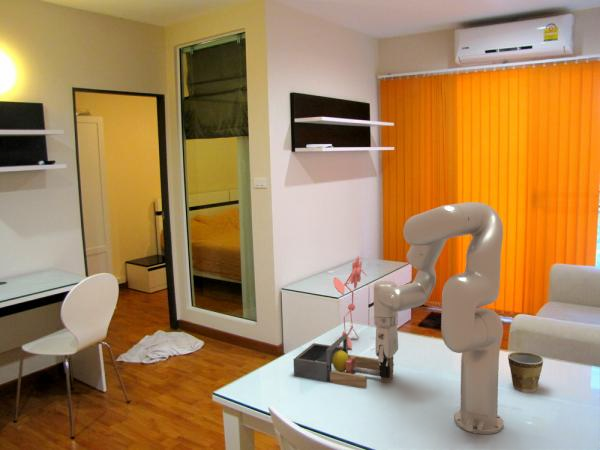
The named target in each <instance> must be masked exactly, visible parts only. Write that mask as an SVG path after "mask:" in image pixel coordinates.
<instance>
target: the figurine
mask: <svg viewBox="0 0 600 450" xmlns="http://www.w3.org/2000/svg"><path fill="white" fill-rule="evenodd" d="M362 264H363V262H362V260H360V256H359V255H357V256H356V258H355V260H353V262H352V264H351V265H352V266H351V267H352V270H351V273H350V275H349V276H348V277H347V279H346V281H345V283H343V282H342V281H341V279H340V278H337V277H336V276H335V277H333V285H334V288H335V289H336V290H337V291H338V293H340V294H341V295H345V287H346V288H347V289H348V290H349V291H350V292H351V303H350V304H348V307H347V308H348V310H349V311H348V312H346V314H345V315H344V316H343V327H344V331H343V332H342V335H343V334H347V337H348V348H349V349H350V350H352V348H353V347H352V345H353V344H352V340H351V339H350V336H349V335H350V333H351V331H352V332H354V334H355V335H356V337H357V339H360V337H359V336H358V334H357V333H356V331H355V330H354V325H353V319H352V318H353V317H352V311H354V310H355V309H356V305H355V304H354V292H353V290H352V289H351V288H350V287H349V286H348V284H351V285H353V288H354V289H355V290H356V288H357V287H358V283H360V282H361V280H362V276H361V274H362V273H363V274H364V276H366V277H367V276H368V275H367V274H366V273H365V271H363V269H362ZM349 314H350V322H351V323H350V324H351V325H350V329H349V330H348V332H346V320H345V317H347V315H349ZM342 335H341V336H342ZM372 339H374V340H375V338H373V337H372ZM341 344H342V342H341V343H340V344H339V345H338V346H337V347H341V346H340V345H341ZM372 350H374V348H373V349H371V351H372Z"/></svg>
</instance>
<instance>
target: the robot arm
mask: <svg viewBox="0 0 600 450" xmlns="http://www.w3.org/2000/svg"><path fill="white" fill-rule="evenodd" d="M402 233H403V238H404V240H405V241H406V243H408V244H409V245H410V247H409V249H408V251H407V254H406V261H407V262H408V263H409V264H410V266H412V267H413V268H414V269H416V270H417V273H416V275H415V277H414V280H413V281H412V282H410V283H406V284H400V285H397V283H395V282H394V281H391V280H380V281H377V282H375V283H374V284H373V324H374V326H375V327H376V328H375V347H376V348H375V355H376V357H378V358H377V359H378V362H379V368H380V376H379V377H380V378H381V377H384V378H389V377H390V366H388V364H389V358H391V357H392V356H393V357H394V356H395V354H396V353H397V352H398V350H399V333H398V332H399V331H398V325H399V323H398V322H399V321H398V320H399V319H398V318H399V317H398V315H399V312H403V311H406V310H410V309H413V308H417V307H421V306H422V305H424V304H425V303H426V302H427V301H428V300H429V298H430V297H431V295H432V293H433V291H434V289H435V287H436V284H437V282H436V281H437V275H436V273H437V272H436V268H435V267H436V263H437V262H438V259H439V257H440V255H441V253H442V251H443V249H444V246H445V245H446V242H447V241H448V240H449V239H451V238H457V237H463V236H468V235H471V236H472V238H471V240H470V242H469V245H468V247H467V249H466V254H465V255H466V256H465V260H466V261H465V269H464V271H463V272H460V273H457V274H454V275H452V276H451V277H449V278H448V279H447V281H446V282H445V283H444V285H443V288H442V294H441V318H440V321H441V323H440V324H441V325H440V331H441V332H440V333H441V338H442V340H443V342H444V344H445V346H446V347H447V349H448V350H450V351H451V352H453V353H458V354H461V360H460V405H459V406H460V409H459V410H457V411H456V412H455V413H454V416H453V417H454V418H453V421H454V423H455V424H456V425H457V426H458V427H459V428H460V429H463V430H464V431H467V432H470V433H474V434H478V435H491V434H496V433H499V432H500V431H501V430H503V428H504V420H503V418H502V417H501V416H500V415H499V414H498V408H499V407H498V403H499V400H498V399H499V398H498V397H499V370H500V369H499V365H500V351H501V346H502V345H501V344H502V340H503V334H504V325H503V321H502V319H501V317H500V315H499V314H498V313H497V312H496V311H494V310H492V309H490V308H485V306H489V305H491V304H493V303H494V302H496V301H497V300H498V298H499V295H500V285H501V283H500V282H501V268H502V267H501V265H502V264H501V261H502V259H501V257H502V246H503V239H504V226H503V222H502V219H501V216H500V215H499V214H498V212H497V211H496V209H494V208H493V207H491V206H489V205H488V204H487V203H482V202H477V201H473V202H472V201H469V202H462V203H461V202H460V203H452V204H451V203H450V204H445V205H441V206H438V207H436V208H433V209H429V210H426V211H423V212H421V213H418V214H415V215H413V216H410V217H409V218H408V219H407V220H406V221H405V223H404V227H403V231H402ZM384 355H385V356H384ZM383 358H385V359H386V361H385V360H384V359H383Z"/></svg>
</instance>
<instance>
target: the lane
mask: <svg viewBox="0 0 600 450" xmlns="http://www.w3.org/2000/svg"><path fill="white" fill-rule="evenodd" d="M351 356H355V357H356V368H362V369H369V370H375V371H380V368H379V362H378V358H374V357H369V356H368V357H367V356H360V355H355V354H348V358H350V357H351ZM367 378H368V377H367V376H366V375H361V374H357V373H354V374H350V373H346V372H345V371H343V372H339V371H337V370H332V371H331V372H330V382H329V383H332V384H336V385H343V386H349V387H353V388H354V387H355V388H360V389H367V388H368V385H367V384H368V379H367Z"/></svg>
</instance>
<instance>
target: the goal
mask: <svg viewBox="0 0 600 450" xmlns="http://www.w3.org/2000/svg"><path fill="white" fill-rule="evenodd" d="M347 334H348V333H346V334H343V335H341V336H340V337H339V338H338V339H336V340H335V341H334V342H333V343H332V344H331V345H328V344H323V343H322V344H321V343H311V344H310V345H309V346H308V347H307V348H306V349H304V350H303V351H301V352H300V353H299V354H298V355H297V356H296V357H294V358H293V377H297V378H303V379H307V380H314V381H319V382H325V383H330V372H331V371H333V370H332V364H333V356H334V354H335V353H336V352H337V351H340V350H342V351H344V352H346V353H347V355H349V351H348V350H349V349H348V348H349V347H348V337H347ZM340 343H341V344H342V343H343V344H342V346H339V347H338V345H339V344H340ZM341 344H340V345H341Z"/></svg>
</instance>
